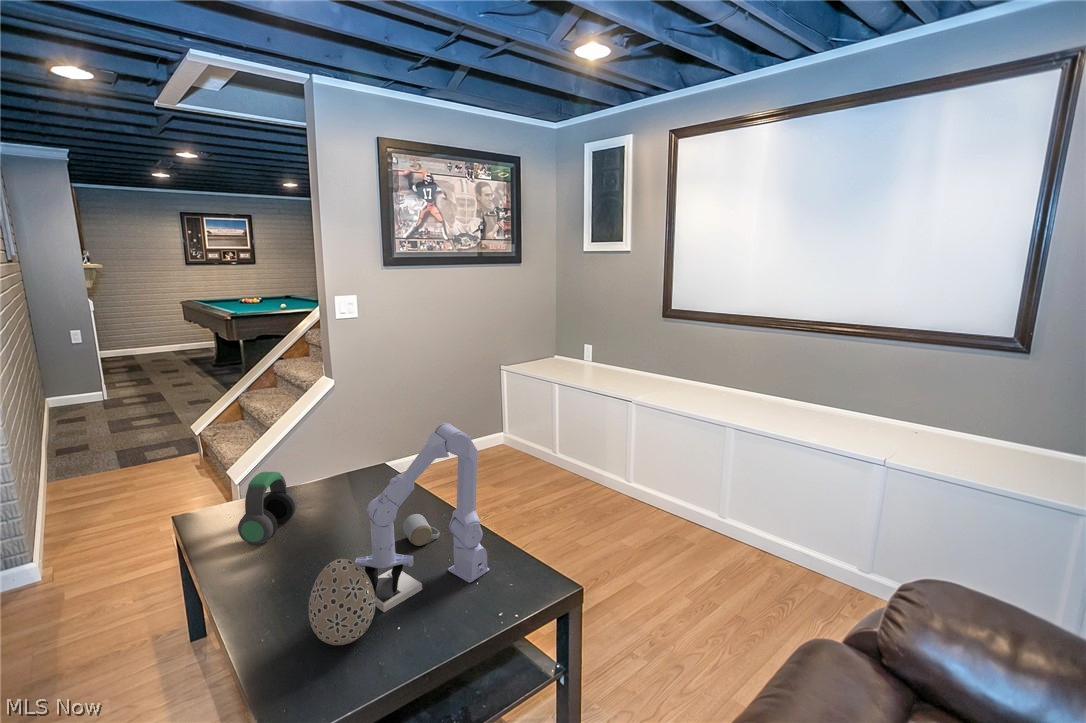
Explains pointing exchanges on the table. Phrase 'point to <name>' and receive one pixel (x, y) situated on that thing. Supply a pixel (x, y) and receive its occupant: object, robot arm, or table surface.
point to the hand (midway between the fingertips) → (386, 590)
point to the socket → (398, 590)
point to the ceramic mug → (419, 530)
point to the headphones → (265, 508)
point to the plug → (385, 588)
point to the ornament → (341, 603)
